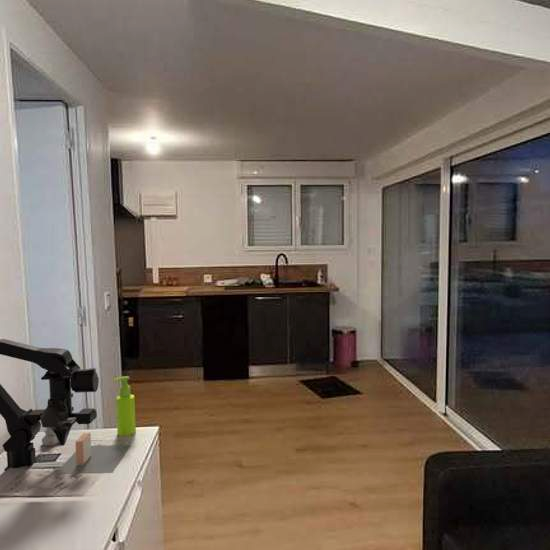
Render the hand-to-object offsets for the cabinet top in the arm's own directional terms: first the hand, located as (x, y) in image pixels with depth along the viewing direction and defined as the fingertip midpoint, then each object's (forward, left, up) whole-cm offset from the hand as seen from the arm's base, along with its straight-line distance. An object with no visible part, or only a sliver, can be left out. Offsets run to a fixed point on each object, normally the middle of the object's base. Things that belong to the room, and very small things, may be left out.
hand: (62, 445), depth 138 cm
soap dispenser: (+12, +20, -6) cm, 24 cm away
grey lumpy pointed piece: (-9, +13, -6) cm, 17 cm away
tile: (+6, 0, -5) cm, 8 cm away
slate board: (+9, +1, -6) cm, 11 cm away
